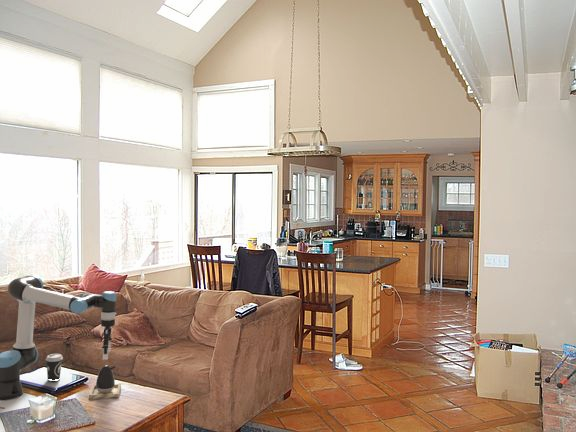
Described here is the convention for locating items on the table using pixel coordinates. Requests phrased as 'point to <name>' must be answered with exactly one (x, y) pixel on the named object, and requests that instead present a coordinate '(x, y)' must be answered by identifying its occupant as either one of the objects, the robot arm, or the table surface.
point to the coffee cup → (54, 366)
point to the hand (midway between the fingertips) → (106, 355)
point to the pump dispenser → (105, 380)
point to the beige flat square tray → (111, 395)
